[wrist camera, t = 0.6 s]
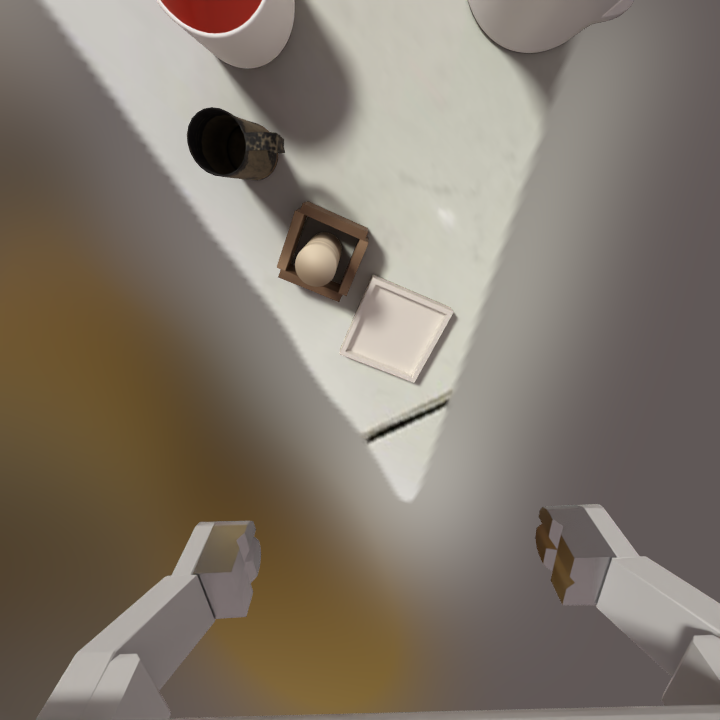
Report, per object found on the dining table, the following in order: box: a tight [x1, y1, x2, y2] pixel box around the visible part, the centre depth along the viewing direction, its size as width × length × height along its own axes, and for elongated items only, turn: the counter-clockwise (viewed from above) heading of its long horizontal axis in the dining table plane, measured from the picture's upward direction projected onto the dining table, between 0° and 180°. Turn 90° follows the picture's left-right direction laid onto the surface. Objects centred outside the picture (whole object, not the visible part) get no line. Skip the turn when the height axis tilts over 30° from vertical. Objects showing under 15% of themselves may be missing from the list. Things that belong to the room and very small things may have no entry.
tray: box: [339, 275, 453, 383], centre depth 49 cm, size 11×11×2 cm
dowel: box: [295, 232, 342, 287], centre depth 41 cm, size 4×4×10 cm
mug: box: [187, 107, 285, 180], centre depth 36 cm, size 8×6×12 cm
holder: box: [277, 201, 368, 302], centre depth 44 cm, size 8×8×4 cm
